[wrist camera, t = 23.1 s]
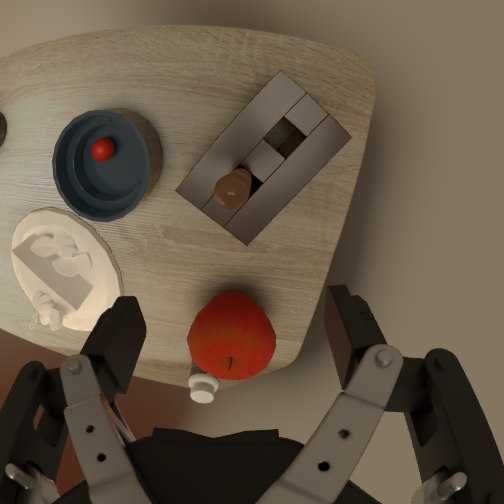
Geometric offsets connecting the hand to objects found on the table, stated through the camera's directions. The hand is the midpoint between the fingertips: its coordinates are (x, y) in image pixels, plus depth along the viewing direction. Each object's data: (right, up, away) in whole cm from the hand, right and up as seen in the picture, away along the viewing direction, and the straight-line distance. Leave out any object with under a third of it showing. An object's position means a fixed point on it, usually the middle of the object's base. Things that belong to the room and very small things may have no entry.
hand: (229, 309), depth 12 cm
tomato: (-19, +16, +22) cm, 33 cm away
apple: (-2, -6, +36) cm, 36 cm away
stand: (+2, +15, +25) cm, 29 cm away
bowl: (-18, +15, +24) cm, 34 cm away
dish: (-33, -1, +33) cm, 47 cm away
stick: (0, +9, +16) cm, 18 cm away
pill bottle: (-7, -17, +42) cm, 46 cm away
